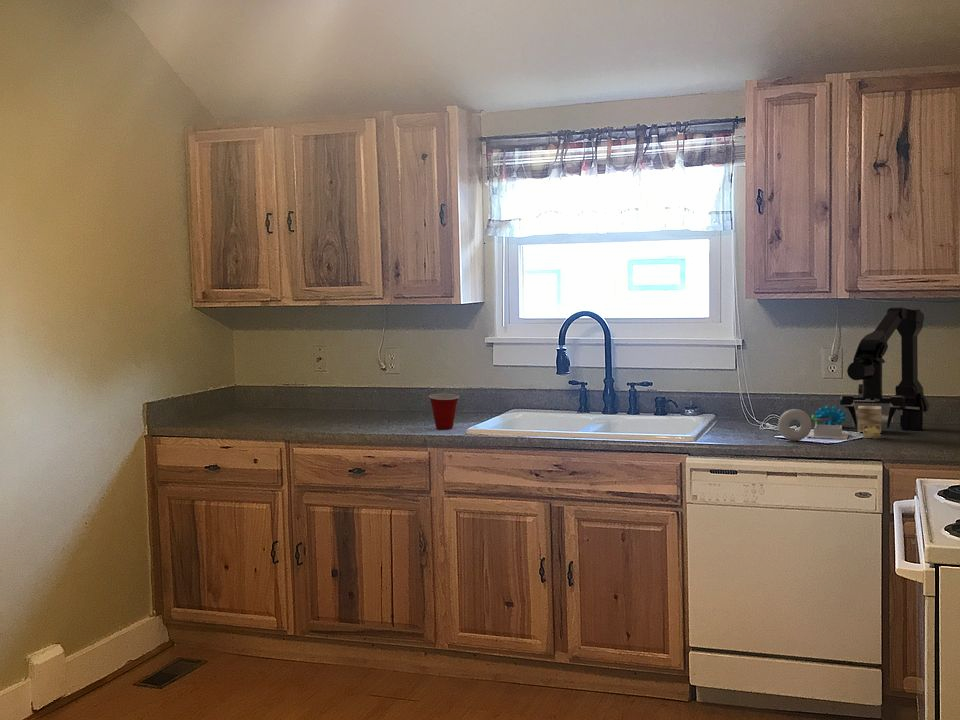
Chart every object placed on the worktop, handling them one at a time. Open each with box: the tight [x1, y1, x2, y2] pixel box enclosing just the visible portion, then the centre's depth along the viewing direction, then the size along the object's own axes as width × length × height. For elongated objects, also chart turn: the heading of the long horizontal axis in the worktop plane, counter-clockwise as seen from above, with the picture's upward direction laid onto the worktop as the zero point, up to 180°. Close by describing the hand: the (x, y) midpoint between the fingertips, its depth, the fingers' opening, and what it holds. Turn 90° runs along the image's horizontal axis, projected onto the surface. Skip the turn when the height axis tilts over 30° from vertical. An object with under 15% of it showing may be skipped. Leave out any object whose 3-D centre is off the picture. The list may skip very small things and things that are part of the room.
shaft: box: [851, 409, 894, 426], centre depth 326 cm, size 12×5×5 cm, turn 67°
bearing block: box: [857, 405, 882, 434], centre depth 326 cm, size 7×8×8 cm
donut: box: [777, 408, 813, 442], centre depth 310 cm, size 10×3×10 cm, turn 77°
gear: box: [811, 405, 847, 426], centre depth 339 cm, size 11×6×10 cm
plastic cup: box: [428, 393, 460, 431], centre depth 352 cm, size 11×11×12 cm
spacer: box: [862, 424, 882, 439], centre depth 313 cm, size 5×5×4 cm
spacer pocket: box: [806, 424, 850, 440], centre depth 318 cm, size 12×12×3 cm
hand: (871, 427), depth 313 cm, fingers open, 9 cm apart
